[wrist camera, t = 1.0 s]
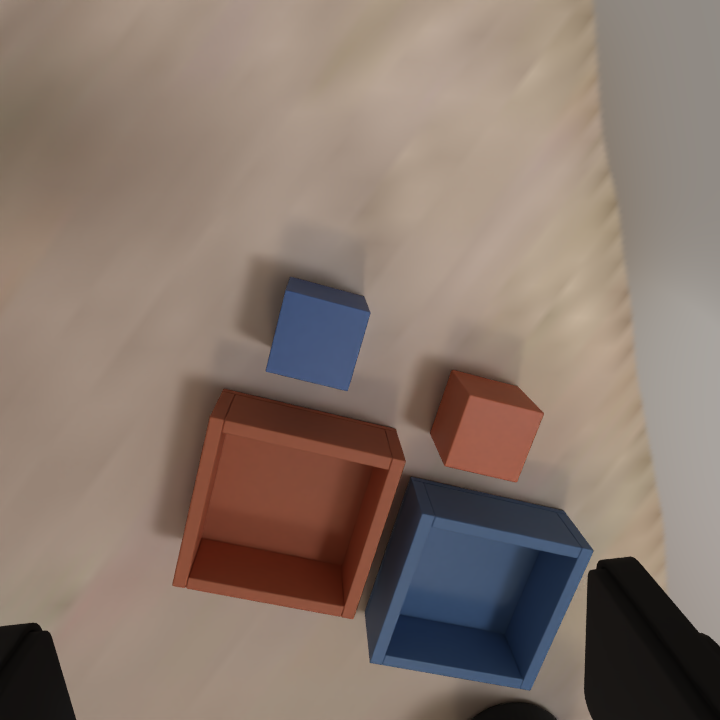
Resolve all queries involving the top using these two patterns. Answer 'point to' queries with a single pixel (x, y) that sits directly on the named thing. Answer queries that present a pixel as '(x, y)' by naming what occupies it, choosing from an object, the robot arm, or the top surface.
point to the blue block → (318, 334)
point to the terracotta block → (485, 426)
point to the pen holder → (515, 712)
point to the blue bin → (473, 585)
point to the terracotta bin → (288, 505)
